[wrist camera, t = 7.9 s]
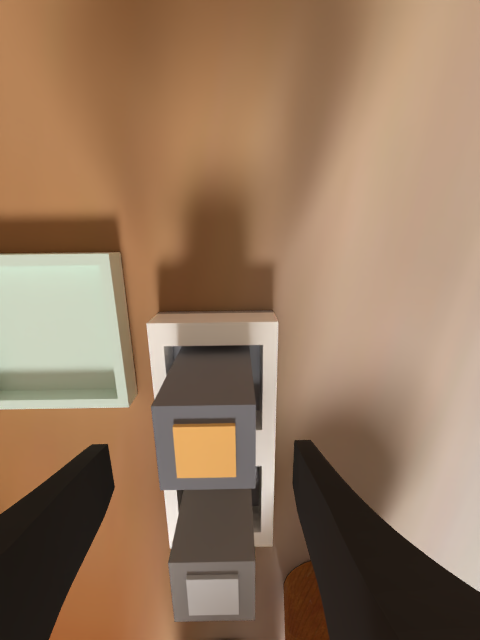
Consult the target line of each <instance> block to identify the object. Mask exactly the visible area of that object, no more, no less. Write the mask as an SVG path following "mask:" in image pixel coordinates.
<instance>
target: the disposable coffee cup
mask: <svg viewBox="0 0 480 640" xmlns="http://www.w3.org/2000/svg"><path fill="white" fill-rule="evenodd" d="M284 611H285V640H330V639H329V634H328V629H327V624H326V619H325V614H324V609H323V605H322V600H321V595H320V591H319V587H318V583H317V579H316V576H315V572H314V569H313V565H312V562H311V561H309V562H306V563H304V564H302V565H300V566H298V567H297V568H295V569H294V570H293V571H291V573H290V574H289V575H288V576H287V578H286V580H285V582H284Z"/></svg>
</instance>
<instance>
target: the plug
mask: <svg viewBox="0 0 480 640" xmlns="http://www.w3.org/2000/svg"><path fill="white" fill-rule="evenodd" d="M151 410H152V419H153V428H154V438H155V447H156V456H157V465H158V474H159V483H160V490H202V489H256V402H255V393H254V384H253V375H252V366H251V357H250V348H249V345H219V346H182V347H181V349H180V351H179V353H178V354H177V356H176V358H175V360H174V362H173V364H172V366H171V368H170V370H169V372H168V374H167V376H166V378H165V380H164V382H163V384H162V386H161V388H160V390H159V392H158V394H157V396H156V398H155V400H154V402H153V404H152V406H151Z"/></svg>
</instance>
